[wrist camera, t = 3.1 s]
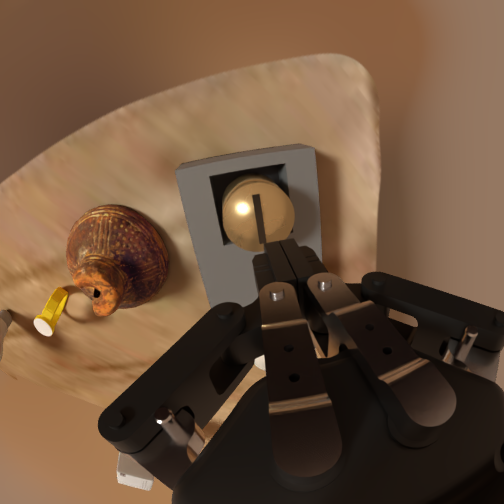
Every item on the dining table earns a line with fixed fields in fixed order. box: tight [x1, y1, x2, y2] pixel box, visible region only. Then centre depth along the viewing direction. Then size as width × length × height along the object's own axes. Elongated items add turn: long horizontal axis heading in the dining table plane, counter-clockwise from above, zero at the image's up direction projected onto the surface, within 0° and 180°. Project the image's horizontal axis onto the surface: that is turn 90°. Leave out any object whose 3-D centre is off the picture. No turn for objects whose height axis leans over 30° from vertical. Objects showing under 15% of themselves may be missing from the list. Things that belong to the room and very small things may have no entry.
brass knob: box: [222, 173, 295, 252], centre depth 20 cm, size 5×5×4 cm
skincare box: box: [117, 452, 154, 490], centre depth 33 cm, size 8×6×15 cm
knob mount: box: [175, 144, 322, 348], centre depth 27 cm, size 22×11×4 cm, turn 8°
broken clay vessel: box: [66, 205, 169, 316], centre depth 23 cm, size 12×12×7 cm
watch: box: [34, 287, 68, 336], centre depth 25 cm, size 6×3×6 cm, turn 141°
